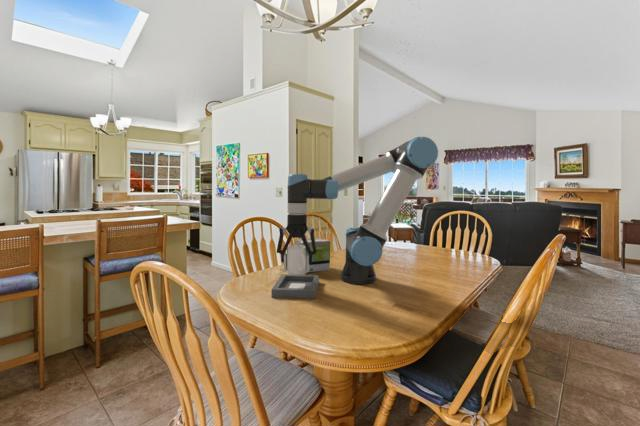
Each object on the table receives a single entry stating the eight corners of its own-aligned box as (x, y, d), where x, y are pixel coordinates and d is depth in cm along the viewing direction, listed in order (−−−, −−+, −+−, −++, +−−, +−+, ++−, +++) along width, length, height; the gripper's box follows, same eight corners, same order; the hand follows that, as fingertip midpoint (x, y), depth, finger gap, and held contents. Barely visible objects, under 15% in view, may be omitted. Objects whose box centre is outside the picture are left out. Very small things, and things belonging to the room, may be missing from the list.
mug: (314, 276, 125) (314, 249, 124) (294, 278, 121) (294, 251, 120) (302, 268, 136) (302, 244, 135) (283, 270, 132) (283, 245, 131)
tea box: (302, 274, 151) (302, 242, 150) (293, 268, 160) (293, 239, 159) (330, 270, 158) (330, 240, 157) (320, 265, 167) (321, 237, 166)
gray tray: (318, 282, 139) (319, 275, 139) (314, 298, 119) (314, 290, 119) (281, 281, 140) (281, 274, 140) (271, 297, 120) (271, 289, 120)
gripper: (324, 213, 130) (323, 269, 132) (272, 212, 131) (272, 267, 133) (323, 215, 122) (322, 274, 124) (268, 214, 124) (268, 272, 126)
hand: (296, 270), depth 129 cm, fingers closed on mug, 8 cm apart
